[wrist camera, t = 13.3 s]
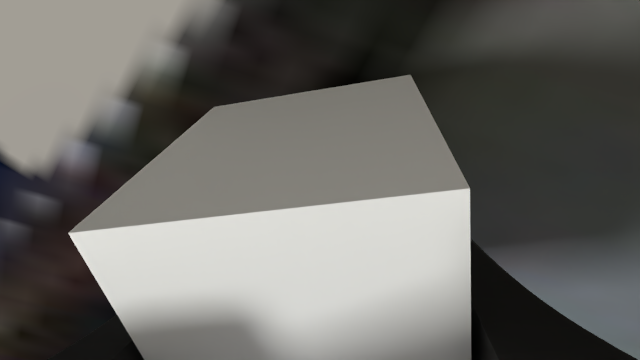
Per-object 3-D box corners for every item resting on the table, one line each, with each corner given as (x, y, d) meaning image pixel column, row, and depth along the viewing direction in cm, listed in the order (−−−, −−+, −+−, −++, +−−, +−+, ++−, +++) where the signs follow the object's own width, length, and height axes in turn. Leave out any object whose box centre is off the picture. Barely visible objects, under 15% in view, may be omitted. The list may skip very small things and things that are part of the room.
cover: (281, 313, 16) (234, 509, 10) (214, 107, 12) (68, 233, 6) (428, 304, 15) (472, 517, 9) (410, 74, 11) (469, 188, 5)
